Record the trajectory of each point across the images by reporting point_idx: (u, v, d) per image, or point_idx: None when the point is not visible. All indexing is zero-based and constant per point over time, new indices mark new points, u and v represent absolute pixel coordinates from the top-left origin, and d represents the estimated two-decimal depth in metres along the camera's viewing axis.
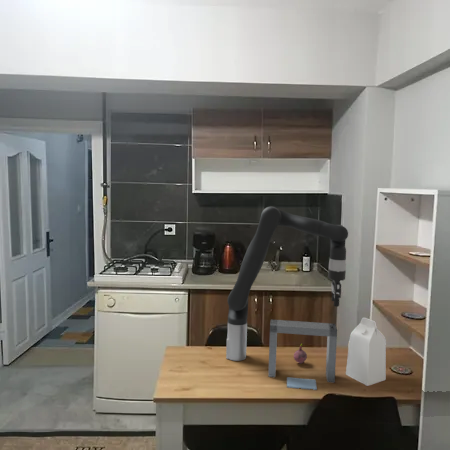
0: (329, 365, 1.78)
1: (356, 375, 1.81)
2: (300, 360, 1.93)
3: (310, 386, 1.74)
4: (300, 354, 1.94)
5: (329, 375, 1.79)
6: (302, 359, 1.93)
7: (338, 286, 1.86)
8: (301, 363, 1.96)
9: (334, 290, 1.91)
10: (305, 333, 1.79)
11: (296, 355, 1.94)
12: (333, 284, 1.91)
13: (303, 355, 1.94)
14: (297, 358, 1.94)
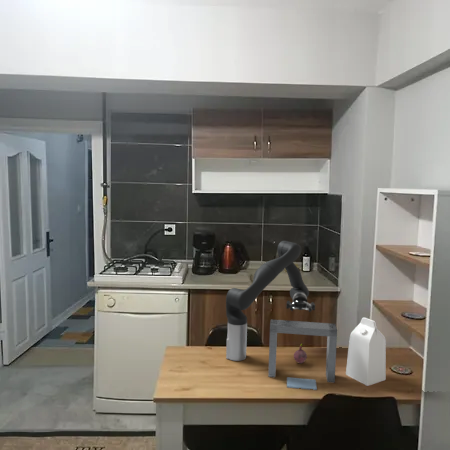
0: (329, 365, 1.78)
1: (356, 375, 1.81)
2: (300, 360, 1.93)
3: (310, 386, 1.74)
4: (300, 354, 1.94)
5: (329, 375, 1.79)
6: (302, 359, 1.93)
7: None
8: (301, 363, 1.96)
9: (304, 304, 2.14)
10: (305, 333, 1.79)
11: (296, 355, 1.94)
12: None
13: (303, 355, 1.94)
14: (297, 358, 1.94)
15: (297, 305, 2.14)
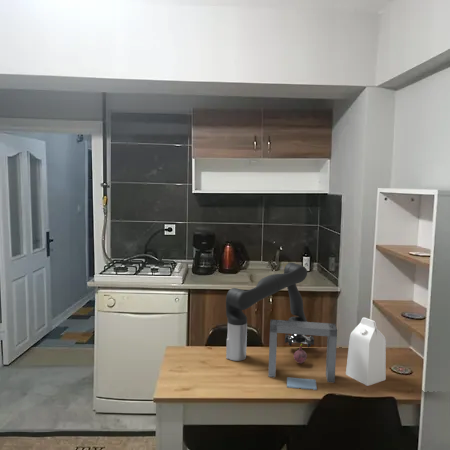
0: (329, 365, 1.78)
1: (356, 375, 1.81)
2: (300, 360, 1.93)
3: (310, 386, 1.74)
4: (300, 354, 1.94)
5: (329, 375, 1.79)
6: (302, 359, 1.93)
7: None
8: (301, 363, 1.96)
9: (303, 338, 2.10)
10: (305, 333, 1.79)
11: (296, 355, 1.94)
12: (302, 335, 2.13)
13: (303, 355, 1.94)
14: (297, 358, 1.94)
15: (296, 339, 2.11)
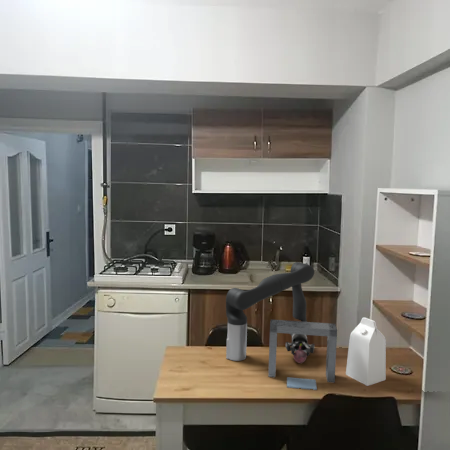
0: (329, 365, 1.78)
1: (356, 375, 1.81)
2: (300, 360, 1.93)
3: (310, 386, 1.74)
4: (300, 354, 1.94)
5: (329, 375, 1.79)
6: (302, 359, 1.93)
7: None
8: (301, 363, 1.96)
9: (303, 346, 2.00)
10: (305, 333, 1.79)
11: (296, 355, 1.94)
12: None
13: (303, 355, 1.94)
14: (297, 358, 1.94)
15: (298, 347, 2.00)
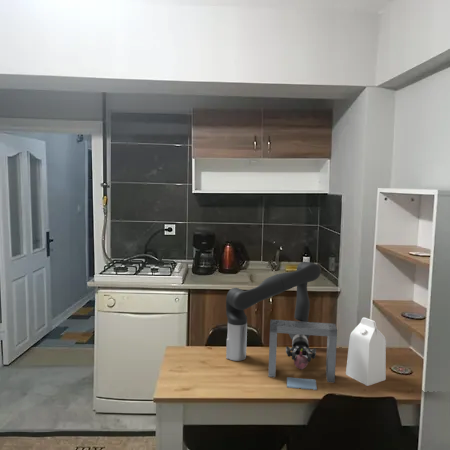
0: (329, 365, 1.78)
1: (356, 375, 1.81)
2: (301, 366, 1.83)
3: (310, 386, 1.74)
4: (301, 360, 1.84)
5: (329, 375, 1.79)
6: (303, 365, 1.83)
7: None
8: (302, 369, 1.86)
9: (304, 350, 1.90)
10: (305, 333, 1.79)
11: (296, 361, 1.84)
12: (305, 347, 1.93)
13: (304, 361, 1.84)
14: (298, 364, 1.84)
15: (299, 352, 1.90)
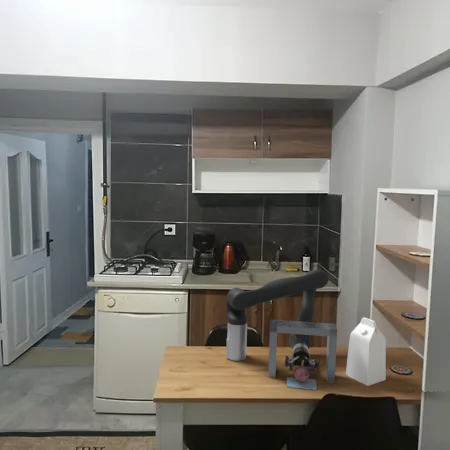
0: (329, 365, 1.78)
1: (356, 375, 1.81)
2: (302, 379, 1.74)
3: (310, 386, 1.74)
4: (302, 372, 1.74)
5: (329, 375, 1.79)
6: (304, 378, 1.74)
7: None
8: None
9: (306, 361, 1.80)
10: (305, 333, 1.79)
11: (297, 373, 1.75)
12: None
13: (305, 373, 1.74)
14: (298, 376, 1.74)
15: (298, 362, 1.81)
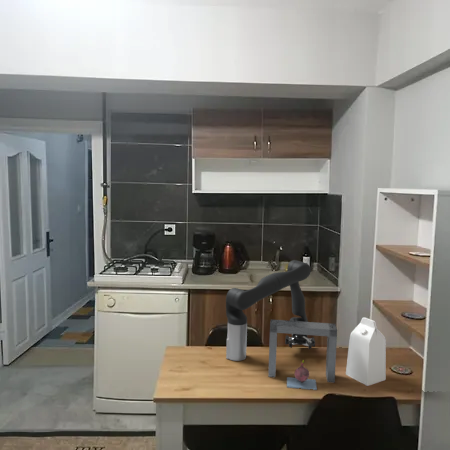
0: (329, 365, 1.78)
1: (356, 375, 1.81)
2: (302, 379, 1.74)
3: (310, 386, 1.74)
4: (302, 372, 1.74)
5: (329, 375, 1.79)
6: (304, 377, 1.74)
7: None
8: None
9: (304, 339, 2.05)
10: (305, 333, 1.79)
11: (297, 373, 1.75)
12: None
13: (305, 373, 1.74)
14: (298, 376, 1.74)
15: (296, 341, 2.06)
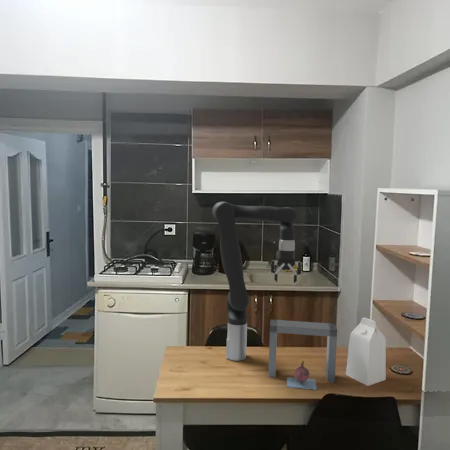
0: (329, 365, 1.78)
1: (356, 375, 1.81)
2: (302, 379, 1.74)
3: (310, 386, 1.74)
4: (302, 372, 1.74)
5: (329, 375, 1.79)
6: (304, 377, 1.74)
7: (300, 263, 2.02)
8: None
9: (290, 269, 2.02)
10: (305, 333, 1.79)
11: (297, 373, 1.75)
12: (290, 263, 2.01)
13: (305, 373, 1.74)
14: (298, 376, 1.74)
15: None
